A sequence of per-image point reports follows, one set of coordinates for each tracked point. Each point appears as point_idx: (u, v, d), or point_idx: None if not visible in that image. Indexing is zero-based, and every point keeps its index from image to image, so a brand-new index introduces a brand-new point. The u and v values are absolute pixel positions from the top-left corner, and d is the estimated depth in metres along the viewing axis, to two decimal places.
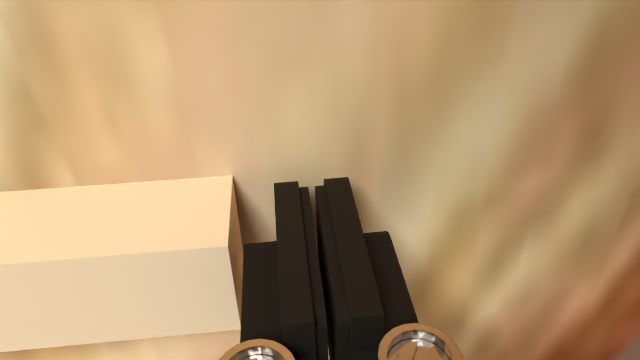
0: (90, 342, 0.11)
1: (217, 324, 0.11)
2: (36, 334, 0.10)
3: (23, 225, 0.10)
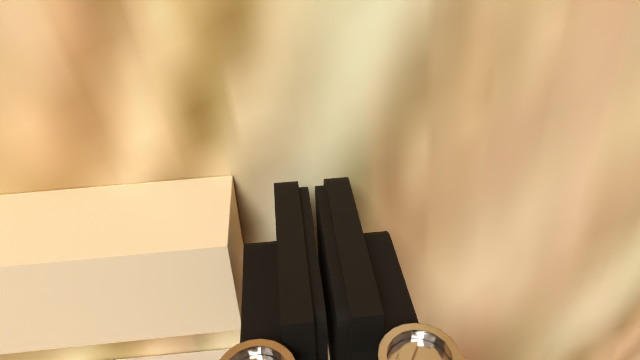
0: (92, 344, 0.11)
1: (218, 325, 0.11)
2: (38, 336, 0.11)
3: (24, 228, 0.10)
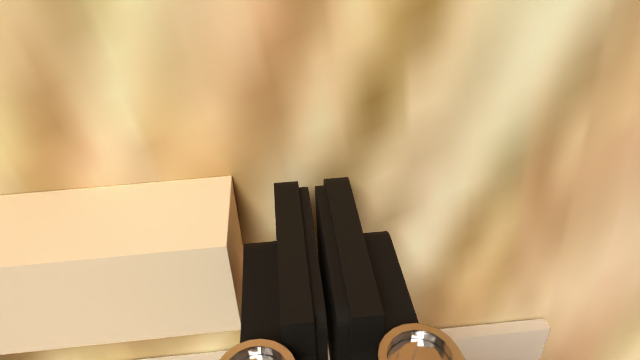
0: (91, 344, 0.11)
1: (217, 325, 0.11)
2: (37, 337, 0.11)
3: (23, 228, 0.10)
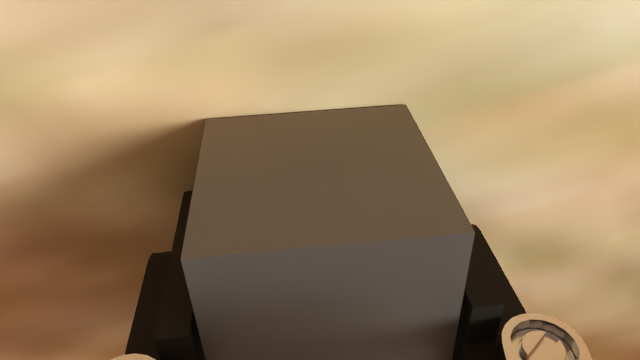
0: None
1: None
2: None
3: None
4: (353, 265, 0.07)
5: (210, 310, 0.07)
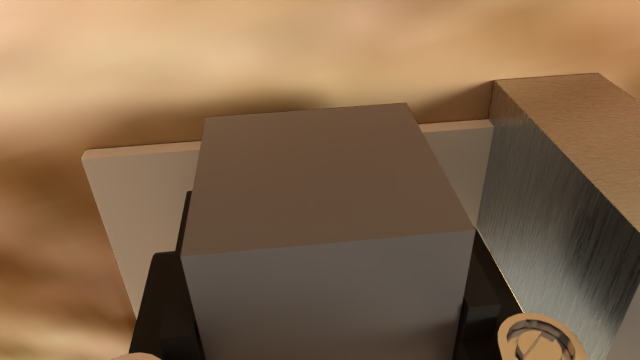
0: None
1: None
2: None
3: None
4: (354, 263, 0.07)
5: (210, 308, 0.07)
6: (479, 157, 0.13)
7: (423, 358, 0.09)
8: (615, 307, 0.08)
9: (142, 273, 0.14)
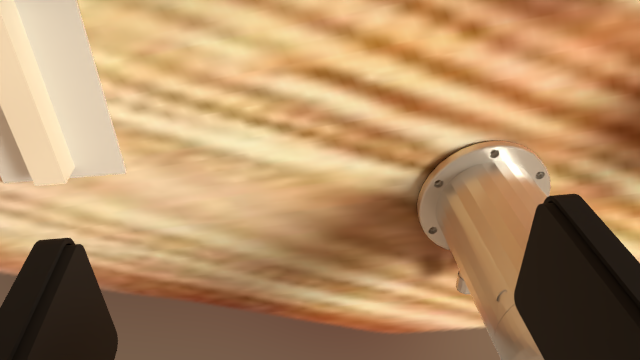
0: None
1: (35, 180, 0.40)
2: (21, 140, 0.38)
3: (53, 131, 0.39)
4: None
5: None
6: None
7: None
8: None
9: None
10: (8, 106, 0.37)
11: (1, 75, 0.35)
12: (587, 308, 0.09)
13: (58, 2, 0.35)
